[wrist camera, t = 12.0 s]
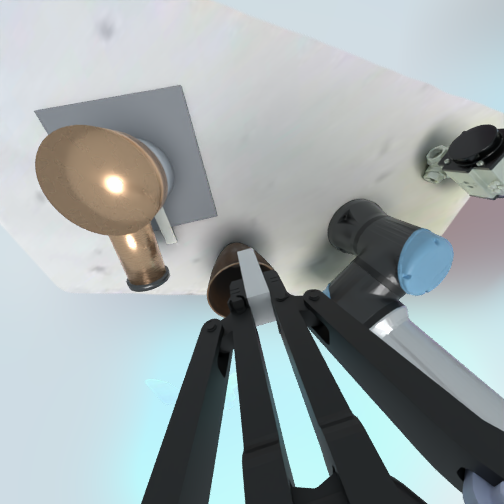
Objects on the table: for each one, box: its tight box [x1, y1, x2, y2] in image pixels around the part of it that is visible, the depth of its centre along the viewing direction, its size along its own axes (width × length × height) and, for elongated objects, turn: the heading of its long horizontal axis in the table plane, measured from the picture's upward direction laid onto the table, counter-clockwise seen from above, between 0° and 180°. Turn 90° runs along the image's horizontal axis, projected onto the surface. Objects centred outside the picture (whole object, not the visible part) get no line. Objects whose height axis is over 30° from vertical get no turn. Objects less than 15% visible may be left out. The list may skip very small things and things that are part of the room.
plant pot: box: [207, 243, 275, 318], centre depth 45 cm, size 15×15×16 cm
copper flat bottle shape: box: [35, 125, 170, 292], centre depth 29 cm, size 23×13×7 cm, turn 3°
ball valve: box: [423, 125, 504, 200], centre depth 43 cm, size 18×8×18 cm, turn 62°
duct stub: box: [34, 85, 217, 245], centre depth 36 cm, size 28×24×11 cm
